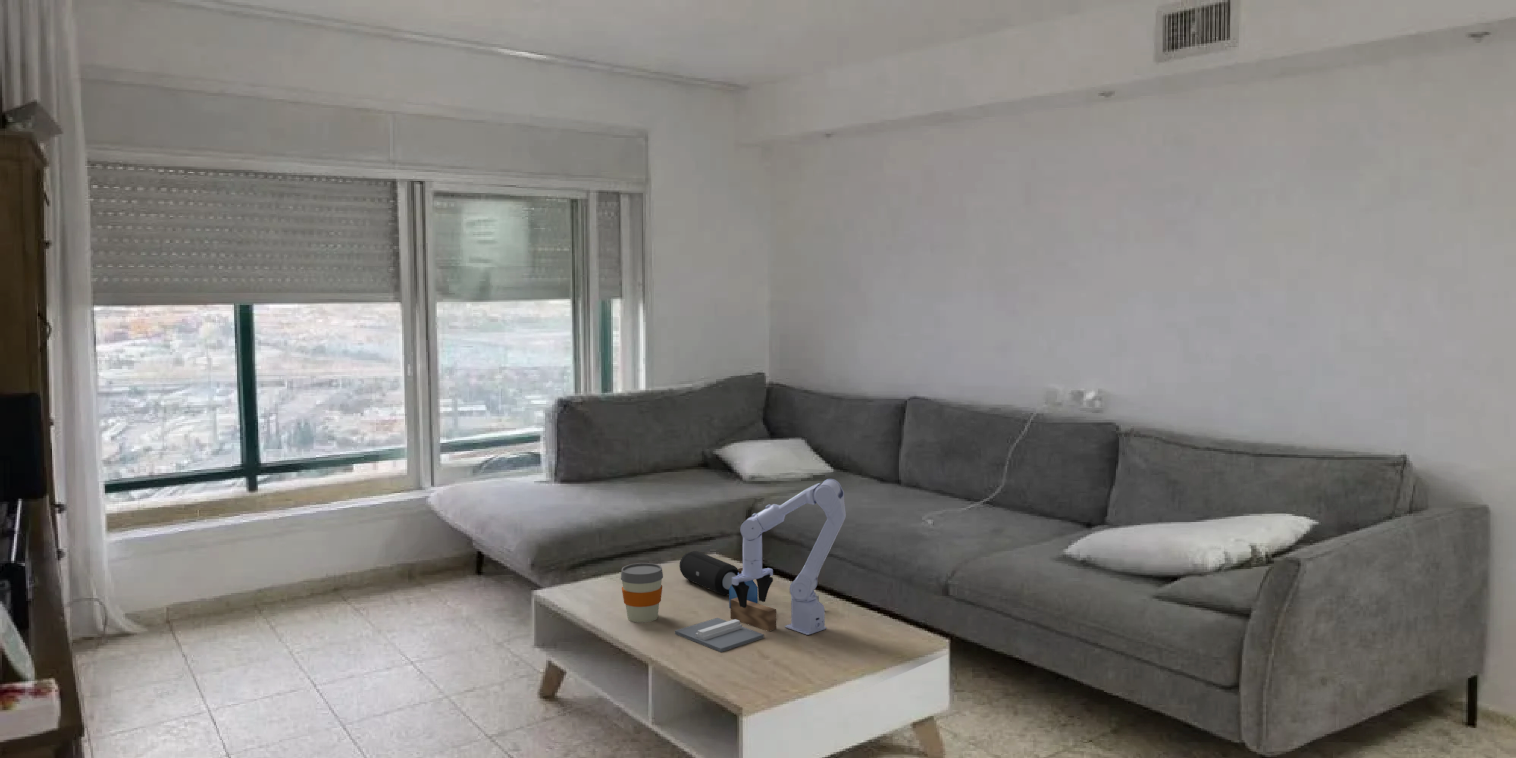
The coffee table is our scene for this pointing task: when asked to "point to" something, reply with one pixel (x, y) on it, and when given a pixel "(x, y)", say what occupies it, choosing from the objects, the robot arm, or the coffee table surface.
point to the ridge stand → (719, 634)
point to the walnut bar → (754, 614)
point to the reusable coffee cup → (642, 591)
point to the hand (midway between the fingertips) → (752, 603)
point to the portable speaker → (708, 571)
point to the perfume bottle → (752, 591)
